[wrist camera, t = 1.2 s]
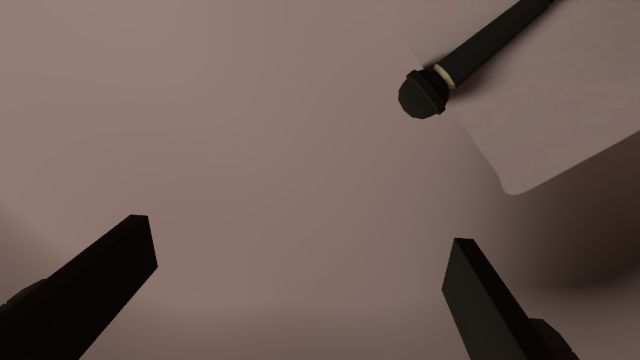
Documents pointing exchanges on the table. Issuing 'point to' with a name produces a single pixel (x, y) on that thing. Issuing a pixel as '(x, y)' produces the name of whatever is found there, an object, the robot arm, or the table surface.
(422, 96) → the microphone
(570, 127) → the table surface
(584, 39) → the table surface
